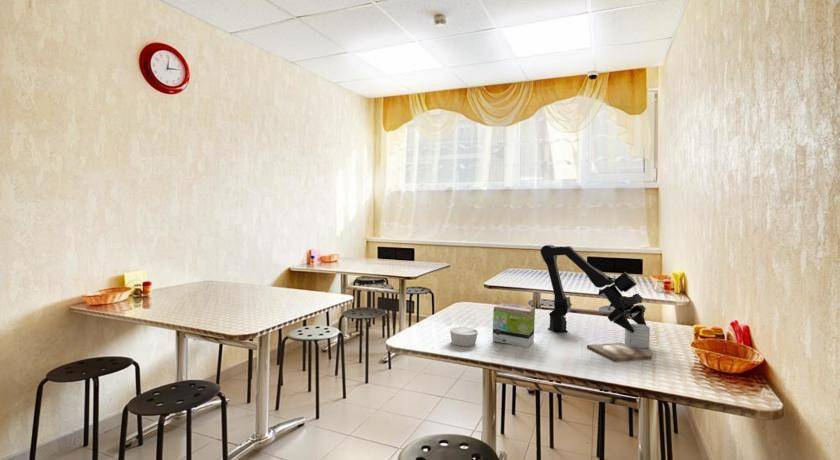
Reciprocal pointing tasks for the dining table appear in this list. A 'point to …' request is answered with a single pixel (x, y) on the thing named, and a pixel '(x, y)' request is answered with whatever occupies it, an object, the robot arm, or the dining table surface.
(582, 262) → the robot arm
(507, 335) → the tea box
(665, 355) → the dining table surface
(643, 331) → the medicine box
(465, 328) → the ramekin
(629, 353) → the walnut board
